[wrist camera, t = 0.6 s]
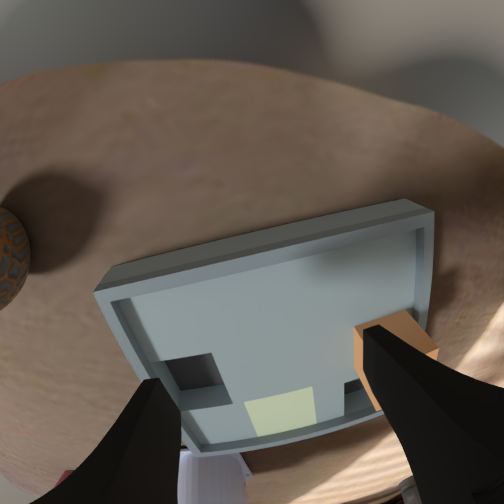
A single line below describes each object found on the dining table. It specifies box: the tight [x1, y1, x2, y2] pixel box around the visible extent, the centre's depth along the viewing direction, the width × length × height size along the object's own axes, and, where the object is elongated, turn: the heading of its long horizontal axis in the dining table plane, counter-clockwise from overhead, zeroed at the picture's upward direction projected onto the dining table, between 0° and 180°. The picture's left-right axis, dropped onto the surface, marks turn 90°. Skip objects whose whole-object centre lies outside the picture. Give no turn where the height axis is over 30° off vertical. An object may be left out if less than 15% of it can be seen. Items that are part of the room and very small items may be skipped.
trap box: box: [93, 198, 434, 457], centre depth 20 cm, size 18×20×3 cm
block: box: [354, 310, 439, 411], centre depth 17 cm, size 4×4×4 cm
